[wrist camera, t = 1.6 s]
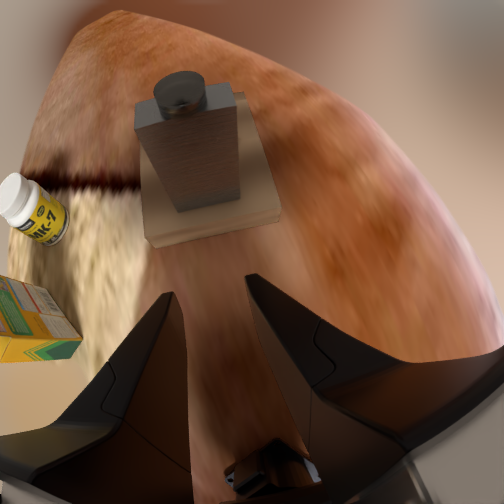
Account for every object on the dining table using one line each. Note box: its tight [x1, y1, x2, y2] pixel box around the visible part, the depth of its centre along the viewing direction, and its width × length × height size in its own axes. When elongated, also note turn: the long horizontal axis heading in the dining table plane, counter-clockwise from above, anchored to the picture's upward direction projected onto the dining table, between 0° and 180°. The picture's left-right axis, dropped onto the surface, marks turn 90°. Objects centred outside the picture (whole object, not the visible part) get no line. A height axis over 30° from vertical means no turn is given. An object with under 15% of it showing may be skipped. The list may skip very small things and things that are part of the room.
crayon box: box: [0, 275, 83, 363], centre depth 16 cm, size 7×3×12 cm, turn 51°
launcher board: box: [140, 92, 282, 249], centre depth 24 cm, size 14×11×3 cm
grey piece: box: [134, 71, 241, 213], centre depth 16 cm, size 2×5×11 cm, turn 103°
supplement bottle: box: [0, 173, 69, 246], centre depth 20 cm, size 5×5×8 cm
